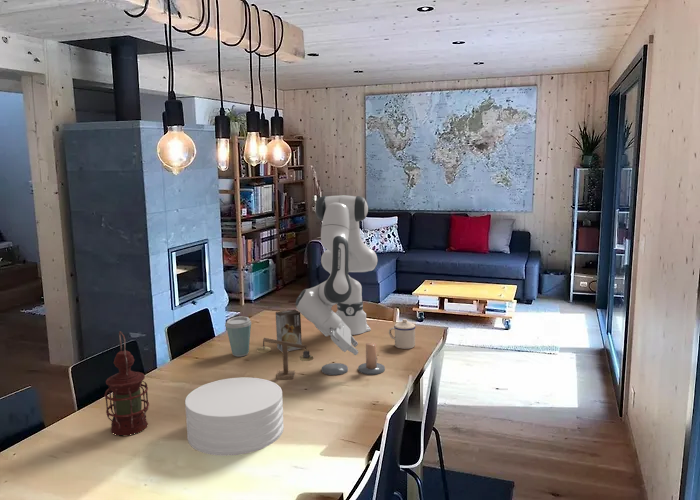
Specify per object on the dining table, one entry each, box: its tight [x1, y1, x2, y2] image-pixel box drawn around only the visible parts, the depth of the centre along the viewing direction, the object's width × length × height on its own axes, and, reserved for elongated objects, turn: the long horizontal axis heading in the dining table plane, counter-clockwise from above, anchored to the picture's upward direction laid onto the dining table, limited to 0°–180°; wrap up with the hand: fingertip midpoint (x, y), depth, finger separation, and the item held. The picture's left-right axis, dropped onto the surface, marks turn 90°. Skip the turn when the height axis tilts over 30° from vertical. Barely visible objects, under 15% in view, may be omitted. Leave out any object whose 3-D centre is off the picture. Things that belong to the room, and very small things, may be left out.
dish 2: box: [357, 362, 386, 376], centre depth 217 cm, size 10×10×1 cm
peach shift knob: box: [365, 342, 378, 369], centre depth 216 cm, size 4×4×9 cm
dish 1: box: [321, 362, 349, 376], centre depth 217 cm, size 10×10×1 cm
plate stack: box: [184, 376, 285, 456], centre depth 169 cm, size 28×28×12 cm
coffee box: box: [275, 309, 303, 353], centre depth 241 cm, size 9×6×16 cm
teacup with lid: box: [388, 318, 416, 350], centre depth 243 cm, size 12×9×12 cm
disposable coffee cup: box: [224, 315, 253, 358], centre depth 235 cm, size 11×11×15 cm
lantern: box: [104, 330, 150, 436], centre depth 170 cm, size 12×12×30 cm
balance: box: [256, 337, 314, 380], centre depth 211 cm, size 6×21×15 cm, turn 90°
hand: (356, 349), depth 215 cm, fingers open, 8 cm apart
